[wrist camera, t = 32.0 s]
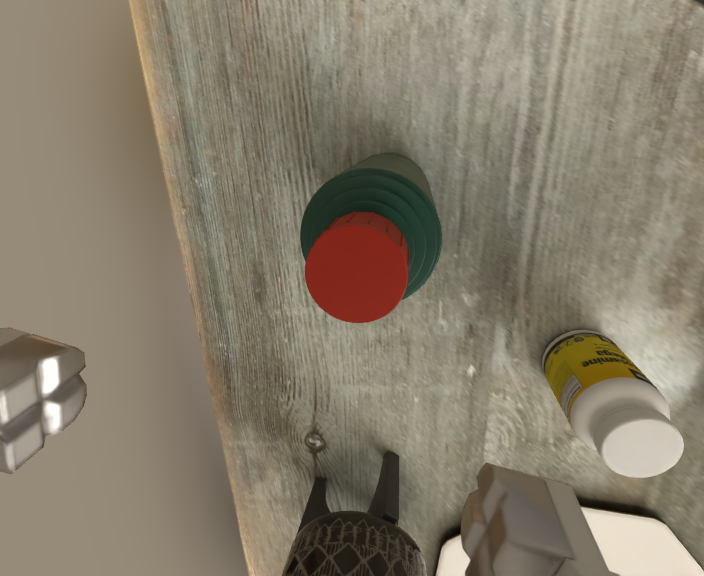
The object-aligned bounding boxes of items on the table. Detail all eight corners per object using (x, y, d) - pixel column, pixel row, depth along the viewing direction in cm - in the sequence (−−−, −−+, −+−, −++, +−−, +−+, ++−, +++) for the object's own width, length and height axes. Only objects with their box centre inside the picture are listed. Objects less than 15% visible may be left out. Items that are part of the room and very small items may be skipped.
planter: (343, 418, 41) (297, 606, 25) (451, 477, 42) (476, 697, 26) (290, 495, 46) (222, 695, 30) (388, 546, 47) (375, 769, 31)
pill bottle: (628, 336, 34) (720, 423, 24) (598, 395, 37) (670, 498, 26) (554, 319, 35) (613, 398, 24) (529, 379, 37) (573, 474, 27)
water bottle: (363, 138, 32) (305, 146, 14) (445, 175, 32) (484, 225, 15) (331, 220, 34) (249, 308, 17) (407, 253, 34) (401, 374, 17)
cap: (385, 311, 19) (381, 339, 16) (306, 275, 18) (289, 298, 16) (425, 234, 17) (427, 252, 15) (339, 194, 17) (326, 205, 14)
